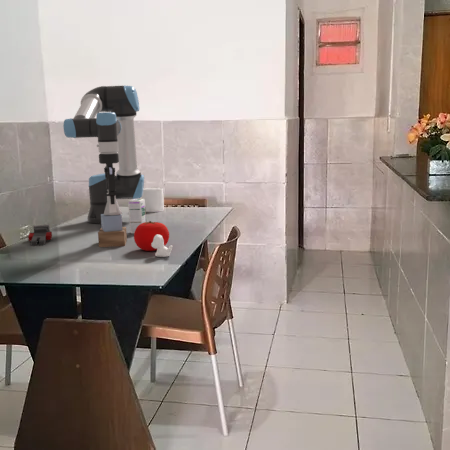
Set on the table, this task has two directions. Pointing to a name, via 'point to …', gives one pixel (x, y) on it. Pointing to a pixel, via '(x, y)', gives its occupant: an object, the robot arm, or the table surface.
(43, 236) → the toy
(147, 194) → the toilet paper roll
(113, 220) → the blue brick
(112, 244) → the base block
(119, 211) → the flask
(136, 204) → the syrup box
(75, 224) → the table surface
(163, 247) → the figurine
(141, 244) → the tomato
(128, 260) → the table surface
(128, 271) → the table surface
